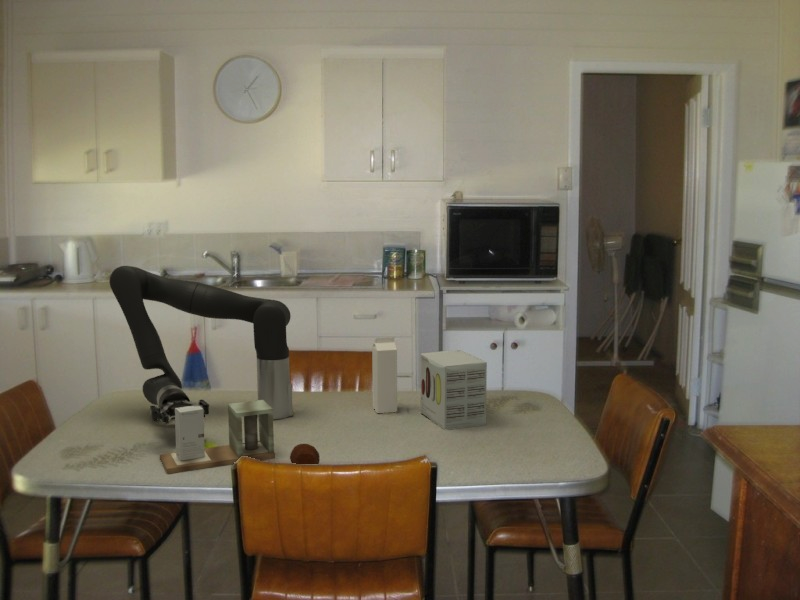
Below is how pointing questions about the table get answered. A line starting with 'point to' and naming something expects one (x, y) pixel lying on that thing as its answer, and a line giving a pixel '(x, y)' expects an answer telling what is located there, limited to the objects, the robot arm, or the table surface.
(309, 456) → the potato
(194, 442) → the skincare box
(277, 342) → the robot arm
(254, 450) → the board
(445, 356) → the supplement box
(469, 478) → the table surface
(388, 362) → the milk
